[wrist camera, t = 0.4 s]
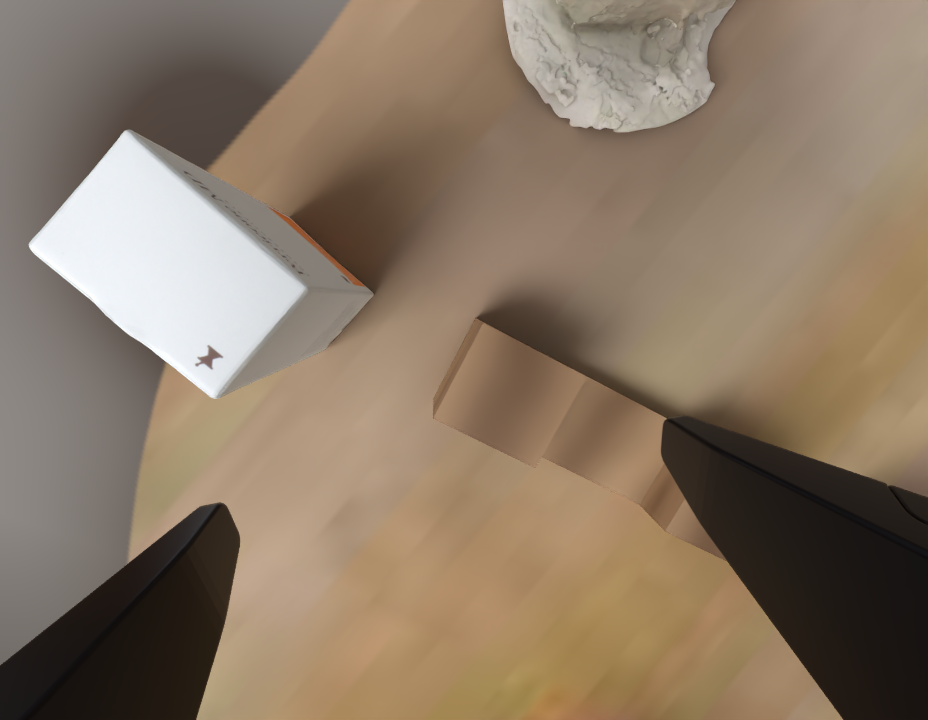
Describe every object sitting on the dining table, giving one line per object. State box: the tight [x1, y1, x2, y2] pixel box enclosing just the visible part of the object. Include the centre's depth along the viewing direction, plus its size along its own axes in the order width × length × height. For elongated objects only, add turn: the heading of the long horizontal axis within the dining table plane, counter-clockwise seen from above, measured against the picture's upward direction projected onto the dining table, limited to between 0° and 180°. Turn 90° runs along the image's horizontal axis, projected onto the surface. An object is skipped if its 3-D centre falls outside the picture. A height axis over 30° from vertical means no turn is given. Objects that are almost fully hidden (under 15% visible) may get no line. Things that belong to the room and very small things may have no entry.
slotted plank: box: [433, 318, 727, 561], centre depth 23 cm, size 18×5×4 cm, turn 62°
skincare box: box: [29, 130, 374, 399], centre depth 17 cm, size 6×4×12 cm
